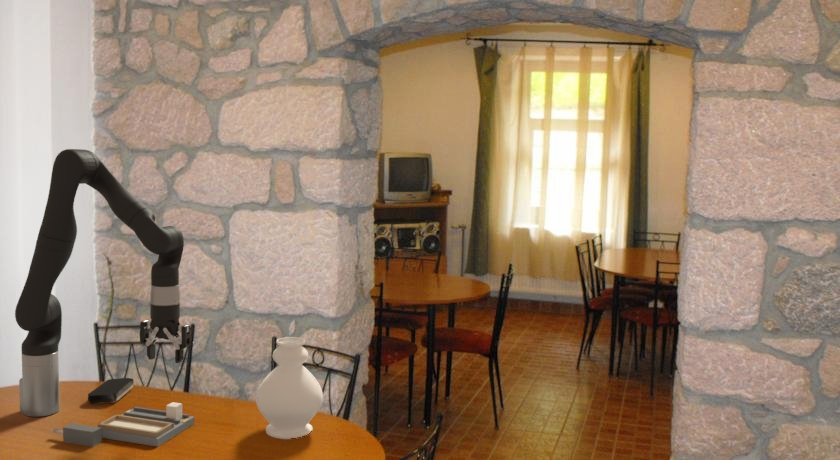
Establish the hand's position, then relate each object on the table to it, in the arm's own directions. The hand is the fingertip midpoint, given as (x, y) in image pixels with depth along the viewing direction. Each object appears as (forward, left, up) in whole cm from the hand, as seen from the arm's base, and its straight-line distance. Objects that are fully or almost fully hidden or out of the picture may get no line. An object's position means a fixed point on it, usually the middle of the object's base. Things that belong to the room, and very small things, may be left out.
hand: (165, 360), depth 214 cm
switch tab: (+3, 0, -16) cm, 16 cm away
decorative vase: (+33, +8, -18) cm, 38 cm away
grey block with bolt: (-15, -17, -18) cm, 29 cm away
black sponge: (-28, +14, -19) cm, 36 cm away
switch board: (-3, -5, -18) cm, 19 cm away
